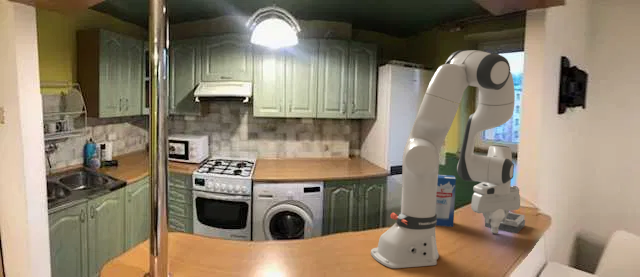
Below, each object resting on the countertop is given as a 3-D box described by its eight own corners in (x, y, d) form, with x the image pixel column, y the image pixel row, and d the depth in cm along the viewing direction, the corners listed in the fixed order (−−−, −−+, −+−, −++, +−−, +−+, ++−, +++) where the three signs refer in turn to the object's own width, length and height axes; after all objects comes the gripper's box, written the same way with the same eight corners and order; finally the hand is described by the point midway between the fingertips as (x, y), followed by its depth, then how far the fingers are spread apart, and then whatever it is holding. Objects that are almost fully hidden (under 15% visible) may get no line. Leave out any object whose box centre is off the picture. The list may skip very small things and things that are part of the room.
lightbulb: (486, 235, 143) (488, 207, 142) (484, 229, 149) (486, 202, 148) (504, 237, 142) (506, 209, 140) (502, 231, 148) (504, 204, 146)
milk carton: (452, 222, 159) (454, 175, 156) (453, 226, 153) (456, 178, 150) (427, 219, 161) (429, 174, 159) (428, 224, 155) (430, 177, 153)
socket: (517, 233, 146) (517, 222, 145) (484, 226, 154) (485, 215, 153) (524, 225, 155) (525, 215, 154) (494, 219, 163) (494, 209, 162)
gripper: (512, 183, 149) (510, 217, 151) (469, 186, 143) (467, 221, 145) (525, 187, 143) (523, 222, 145) (481, 190, 138) (479, 227, 139)
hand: (495, 222), depth 145 cm, fingers closed on lightbulb, 5 cm apart
